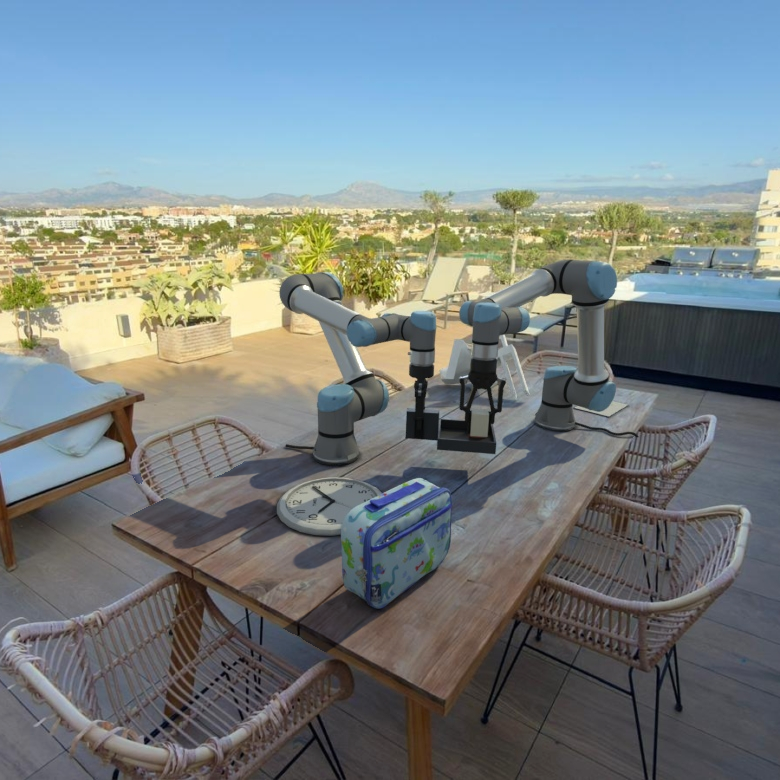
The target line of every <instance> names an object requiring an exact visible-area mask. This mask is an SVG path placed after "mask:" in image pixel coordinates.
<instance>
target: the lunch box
mask: <svg viewBox="0 0 780 780" xmlns="http://www.w3.org/2000/svg"><path fill="white" fill-rule="evenodd" d="M451 539H452V494H451V491H450V490H449V488H446V487H439V486H437V485H435V484H434V483H432V482H430V481H428V480H426V479H424V478H421V477H416V478H413V479H410V480H408V481H405V482H403V483H402V484H398V485H397V486H395V487H392V488H390V489H389V490H386V491H384V492H382V494H380V495H378V496H376V497H374V498H372V499H370V500H368V501H366V502H364V503H362V504H360V505H358V506H356V507H354V508H353V509H351V510H350V511H349V512H348V514H347V515H346V517H345V518H344V520H343V523H342V528H341V535H340V546H341V569H342V570H341V571H342V582H343V585H344V588H345V589H346V590H347V591H349V592H351V593H353V594H355V595H356V596H358V597H359V598H361V599H362V600H364V601H365V602H366V603H367V605H368V606H370V607H372V608H374V609H378V610H379V609H380V610H381V609H383V608H384V607H387V605H389V604H390V603H391V602H392V601H393V600H395V599H396V598H397V597H399V596H400V595H402V594H403V593H404V592H405V591H407V590H408V589H409V588H411V587H412V586H413V585H415V584H416V583H418V581H419V580H420V579H421V578H423V577H425V576H427V575H428V574H429V573H431V572H432V571H434V570H435V569H437V568H438V567H439V566H441V564H442V563H443V562H444V561H445V559H446V557H447V556H448V554H449V550H450V547H451V541H452V540H451Z"/></svg>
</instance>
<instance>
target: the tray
mask: <svg viewBox="0 0 780 780" xmlns="http://www.w3.org/2000/svg"><path fill="white" fill-rule="evenodd" d="M405 415H406V416H405V418H406V420H405V439H407V440H408V439H410V440H416V439H415V438H414V432H415V419H413V417H415V408H410V407H406V414H405ZM423 417H424V428H423V439H421V440H424V441H436V451H448V452H459V453H460V452H462V453H473V454H474V453H475V454H487V455H488V454H489V455H496V452H497V437H496V433H495V428H494V424H490V435H488V436H487V437H485V438H472V437H469V434H468V422H465V419H453V418H452V419H449V418H440V410H439V409H428V408H427V409H426V408H425V409H424V414H423Z"/></svg>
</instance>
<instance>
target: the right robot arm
mask: <svg viewBox="0 0 780 780" xmlns="http://www.w3.org/2000/svg"><path fill="white" fill-rule="evenodd" d="M617 287H618V276H617V272H616V270H615V268H614V266H612V265H611V264H610V263H609V262H606V261H600V260H583V259H568V258H567V259H561V260H558V261H555V262H551V263H549V264H546V265H544V266H542V267H540V268H537V269H536V270H534V271H533V272H532V273H531V275H530V276H527V277H526V278H523V279H522V280H519V281H517V282H516V283H513V284H511V285H509V286H507V287H505V288H504V289H501V290H499V291H497V292H495V293H493V294H491V295H489V296H487V297H485V298H483V299H481V300H480V299H479V300H478V301H476V300H467V301H465V302H463V303H462V304H461V305H460V307H459V311H458V317H459V320H460V322H461V323H462V324H464V325H466V326H469V327H472V333H471V335H472V337H471V346H470V347H471V356H472V358H471V363H470V372H469V374H468V376H464V377H462V376H460V378H459V381H460V383H459V384H460V392H459V394H460V395H459V407H458V408H459V410H460V411H463V412H464V420H465V422H468V434H470V431H471V416H472V411H471V408H472V406H473V402H474V400H475V397H476V394H477V391H478V390H486V392H487V393H486V394H487V397H488V403H489V408H490V409H489V410H488V412H489V423H488V435H490V424H493V425H494V424H495V421H496V414H498V413H502V412H503V401H504V399H503V397H504V388H505V387H506V384H507V380H506V378H504V377H502V378H501V377H499V376H498V374H497V369H498V367H497V359H496V357H497V356H498V349H499V343H500V335H505V336H506V335H511V334H512V335H513V334H519V333H522V332H524V331H526V330H527V329H528V328H529V326H530V322H531V316H530V313H529V311H528V310H527V309H526V308H524V307H522V306H524V305H526V304H528V303H531V302H532V301H534V300H536V299H537V298H540V297H543V298H544V297H548V296H550V295H555V294H557V295H558V294H559V295H567V296H571V304H572V305H573V307H575V308H576V328H577V330H576V331H577V367H576V366H571V365H570V366H569V365H557V366H556V365H555V366H550V367H547V368H546V369H545V371H544V375H543V378H542V379H543V381H542V382H543V383H542V394H541V402H540V405H539V407H538V410H537V411H536V413H535V414H534V416H535V417H534V424H535V425H536V426H537V427H539V428H542V429H544V430H549V431H556V432H567V431H572V430H574V429H575V428H576V426H579V427H582V428H585V429H587V430H592V431H602V432H606V433H608V434H609V435H612V436H616V437H617V436H618V437H619V436H625V435H626V436H627V435H632V436H634V437H635V438H640V436H639V435H638V434H637V433H635V432H633V431H624V432H613V431H612V430H610V429H607V428H606V427H605V428H604V427H597V426H596V427H594V426H590V425H587V424H584V423H580V422H577V421H576V418H575V417H576V416H575V413H574V407H573V406H580V407H583V408H586V409H589V410H593V411H597V412H601V411H604V410H605V409H606V408H608V406H609V405H610V404H611V402H612V401H614V398H615V396H616V392H617V386H616V385H617V384H615V383H614V382H613V381H611V380H610V375H609V371H607V369H606V368H605V306H606V305H607V304H608V303H609V301H610V299H611V298H612V297H613V296H614V294H615V292H616V288H617ZM467 380H470V382H469V383H471V385H472V386H471V390H470V393H469V396H468V399H467V401H466V405H465V397H466V396H465V394H466V384H467V385H468V383H467ZM496 382H497V386H498V388H497V400H496V401H497V402H496V407H495V403H494V398H493V391H492V386H493V385H494V384H495V383H496Z"/></svg>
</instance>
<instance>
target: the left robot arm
mask: <svg viewBox="0 0 780 780" xmlns="http://www.w3.org/2000/svg"><path fill="white" fill-rule="evenodd" d="M278 295H279V299H280V302H281V303H282V305H283V306H284V307H285V308H286V309H287V310H289V311H291V312H293V313H295V314H297V315H305V316H307V317H309V318H312V319H314V320H316V321H318V324H319V326H320V328H321V330H322V332H323V335H324V337H325V339H326V342H327V344H328V346H329V349H330V351H331V354H332V356H333V357H334V360H335V362H336V365H337V367H338V369H339V372H340V375H341V376H342V378H343V383H338V384H331V385H327V386H325V387H323V388H322V389H320V391H319V392H318V394H317V402H316V408H317V438H316V440H315V444H314V446H308V445H307V446H305V445H293V444H287V443H286V444H285V448H290V449H297V450H312V457H313V460H315V462H317V463H319V464H322V465H326V466H344V465H349V464H352V463H354V462H356V461H357V460H359V458H360V447H359V445H358V442H357V439H356V435H355V423H356V422H359V421H362V420H365V419H367V418H370V417H376V416H378V415H379V414H381V413H383V412H385V410H386V409H387V407H388V405H389V402H390V391H389V388H388V387H387V385H386V383H385V382H384V381H382V379H381V380H380V379H376V377H375V375H374V372H372V371H370V370H368V369H367V367H366V365H365V362H364V360H363V358H362V356H361V354H360V351H359V349H358V348H362V347H363V348H366V347H370V346H373V345H377V344H382V343H388V342H392V341H403V342H407V343H409V351H408V352H407V356H409V362H410V363H409V365H408V375H409V377H411V378H412V379H415V380H414V384H413V389H414V398H415V400H414V403H415V404H414V409H415V417H413V419H415V432H414V438H415V439H414V440H422V439H423V428H424V417H423V414H424V409H426V398H427V393H428V392H427V391H428V385H429V381H428V380H427V379H431V378H433V377H434V375H435V365H434V364H435V360H436V336H437V316H436V313H434V312H432V311H428V310H414V311H412V312H411V313H410V315H409V316H408V315H403V314H398V313H395V312H394V313H391V312H390V313H389V312H386V313H384V314H382V315H381V316H380V317H375V318H374V317H373V318H371V317H367V316H366V315H363V314H361V313H359V312H358V311H357V312H356V311H355V310H352V309H351V308H348V307H346V306H344V305H343V302H342V300H343V298H344V287H343V284H342V283H341V280H340V279H339V278H338V276H336V275H335V274H333V273H330V272H321V271H320V272H315V273H297V274H292V275H289V276H288V277H287V278H285V279H284V280H283V282H282V283H281V284H280V286H279V293H278Z"/></svg>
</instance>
